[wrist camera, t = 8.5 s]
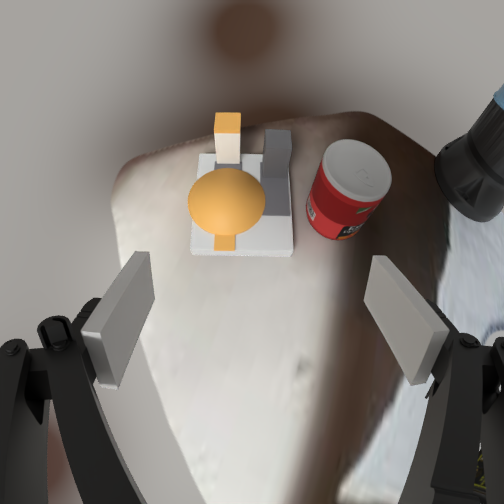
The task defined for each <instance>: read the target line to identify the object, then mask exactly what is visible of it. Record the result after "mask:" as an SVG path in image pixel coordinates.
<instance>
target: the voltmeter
mask: <svg viewBox="0 0 504 504" xmlns="http://www.w3.org/2000/svg"><path fill="white" fill-rule="evenodd" d="M473 495H474V496H477V497H479V499H480V504H487V501H486V486H485V474H484V465H483V457H482V449H481V450H480V451H479V455H478V463H477V470H476V476H475V482H474V488H473Z"/></svg>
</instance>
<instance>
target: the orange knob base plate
mask: <svg viewBox="0 0 504 504" xmlns="http://www.w3.org/2000/svg"><path fill="white" fill-rule="evenodd" d="M291 152H292V141H291V130H275V129H265V138H264V148H263V154H240V164H217V159H216V154H200V156H199V164H198V173H197V181H196V182H195V183H194V185H193V186H192V188H191V190H190V193H189V196H188V209H189V212H190V215H191V217H192V219H193V221H192V232H191V244H190V250H191V253H192V255H223V256H283V257H291V255H292V253H293V232H292V214H291V197H290V182H289V168H288V166H289V161H290V157H291Z"/></svg>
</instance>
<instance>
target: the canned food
mask: <svg viewBox="0 0 504 504" xmlns="http://www.w3.org/2000/svg"><path fill="white" fill-rule="evenodd" d="M391 182H392V175H391V171H390V168H389V166H388V164H387V162H386V161H385V159H384V158H383V157H382V156H381V154H380V153H378V152H377V151H376V150H375V149H374V148H372V147H371V146H369V145H367V144H365V143H363V142H360V141H357V140H351V139H344V140H339V141H336V142H334V143H332V144H331V145H330V146H329V147H328V148H327V149H326V151H325V153H324V155H323V158H322V160H321V163H320V166H319V168H318V171H317V174H316V177H315V180H314V183H313V185H312V188H311V191H310V194H309V197H308V199H307V203H306V212H307V217H308V220H309V222H310V224H311V225H312V227H313V228H314V229H315V230H316V231H317V232H318V233H319V234H321V235H322V236H324V237H326V238H329V239H332V240H343V239H347V238H350V237H352V236H353V235H355V234H356V233H357V232H358V231H359V229H360V228H361V227H362V226H363V224H364V223H365V222H366V220H367V219H368V218H369V217H370V215H371V214H372V213H373V211H374V210H375V209H376V207H377V206H378V205H379V203H380V202H381V201H382V199H383V198H384V196H385V195H386V193H387V192H388V190H389V188H390V186H391Z"/></svg>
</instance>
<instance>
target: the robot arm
mask: <svg viewBox="0 0 504 504" xmlns="http://www.w3.org/2000/svg"><path fill="white" fill-rule="evenodd" d="M493 96H494V98H493V99H492V101H491V102H490V104H489V105H488V106H487V108H486V109H485V110H484V112H483V113H482V114H481V116H480V117H479V118H478V120H477V121H476V122H475V124H474V125H473V126H472V128H471V129H470V130H469V131H468V133H466V134H465V135H463V136H461V137H459V138H457V139H456V140H454V141H452V142H450V143H448V144H447V145H445V146H444V147H443V149H442V150H441V151H440V152H439V154H438V155H437V157H436V159H435V174H436V178H437V180H438V183H439V185H440V187H441V189H442V191H443V193H444V194H445V196H446V197H447V199H448V200H449V201H450V202H451V204H452V205H453V206H454V207H455V208H456V209H457V210H458V211H459V212H461V213H462V214H463V215H465V216H466V217H468V218H470V219H472V220H474V221H478V222H487V221H490V220H491V219H493V218H494V217H495V216H496V215H498V214H499V213H500V212H501V210H502V208H503V206H504V84H503V85H502V87H501V88H500V89H499V90H498V91H497V92H495V93H494V95H493ZM154 300H155V296H154V288H153V280H152V272H151V263H150V254H149V252H139V251H135V252H134V254H133V255H132V256H131V258H130V259H129V260H128V262H127V263H126V265H125V266H124V267H123V269H122V270H121V272H120V273H119V274H118V276H117V277H116V279H115V280H114V281H113V283H112V285H111V286H110V287H109V289H108V290H107V292H106V293H105V294H104V296H103V298H93V299H91V300H90V301H88V302H87V303H86V304H85V305H84V306H83V308H82V309H81V312H79V314H78V315H77V318H75V319H74V321H73V322H72V323H71V322H70V321H69V319H68V318H66V317H65V316H59V315H58V316H52V317H49V318H46V319H45V320H43V321H42V322H41V323H40V324H39V325H38V328H37V332H38V335H39V337H40V340H41V343H42V345H43V347H44V348H37V349H29V348H28V346H27V344H26V342H25V341H24V340H22V339H12V340H9V341H7V342H5V343H4V344H3V345H2V346H1V348H0V504H48V490H47V438H48V420H49V407H50V400H51V399H52V400H53V404H54V409H55V413H56V418H57V421H58V426H59V430H60V434H61V437H62V441H63V445H64V448H65V452H66V455H67V458H68V461H69V465H70V468H71V471H72V474H73V477H74V480H75V483H76V485H77V488H78V491H79V493H80V496H81V499H82V501H83V504H147V503H146V501H145V499H144V497H143V495H142V494H141V492H140V490H139V488H138V486H137V484H136V483H135V481H134V479H133V477H132V475H131V473H130V471H129V469H128V467H127V465H126V463H125V461H124V459H123V457H122V454H121V452H120V450H119V448H118V446H117V443H116V441H115V439H114V437H113V434H112V432H111V430H110V427H109V425H108V422H107V420H106V417H105V415H104V413H103V410H102V407H101V405H100V402H99V399H98V397H97V394H96V391H95V389H94V386H93V383H94V381H95V379H96V377H97V379H98V382H99V384H100V387H104V388H111V389H118V388H119V386H120V383H121V380H122V378H123V375H124V373H125V370H126V367H127V365H128V363H129V360H130V357H131V355H132V352H133V350H134V347H135V345H136V343H137V340H138V338H139V335H140V333H141V330H142V328H143V326H144V323H145V321H146V319H147V316H148V314H149V312H150V309H151V307H152V305H153V302H154ZM364 302H365V304H366V306H367V307H368V309H369V311H370V313H371V314H372V316H373V318H374V319H375V321H376V323H377V325H378V326H379V328H380V330H381V332H382V334H383V335H384V337H385V339H386V341H387V343H388V344H389V346H390V348H391V350H392V352H393V353H394V355H395V357H396V359H397V361H398V363H399V365H400V366H401V368H402V370H403V372H404V374H405V376H406V378H407V380H408V382H409V384H410V386H412V385H418V384H423V383H426V381H427V379H428V377H429V375H430V373H432V375H433V376H434V378H435V379H434V381H433V383H432V385H431V387H430V389H429V391H428V393H427V395H426V397H425V398H426V399H427V398H428V396H429V400H428V405H427V409H426V414H425V418H424V422H423V426H422V430H421V434H420V438H419V441H418V445H417V449H416V452H415V455H414V459H413V462H412V465H411V468H410V471H409V474H408V477H407V480H406V483H405V486H404V489H403V492H402V494H401V497H400V500H399V502H398V504H480V499H479V497H477V496H474V495H473V488H474V482H475V476H476V470H477V463H478V455H479V446H480V443H481V449H482V457H483V465H484V474H485V486H486V501H487V504H504V337H498V338H496V340H495V342H494V344H493V346H492V347H491V346H482V345H481V344H480V342H479V341H478V339H477V338H475V337H474V336H472V335H470V334H467V333H459V331H458V330H457V329H456V328H455V326H454V325H453V324H452V323H451V322H450V320H449V319H448V318H446V316H445V314H444V313H442V311H441V310H440V309H439V307H438V306H437V305H436V304H434V303H433V302H431V301H430V300H428V299H427V300H425V299H424V298H423V297H422V296H421V295H420V294H419V292H418V291H417V290H416V289H415V288H414V287H413V285H412V284H411V283H410V282H409V281H408V280H407V279H406V277H405V276H404V275H403V274H402V273H401V272H400V271H399V270H398V268H397V267H396V266H395V265H394V264H393V263H392V262H391V261H390V260H389V259H388V257H387V256H373V259H372V264H371V269H370V274H369V279H368V284H367V288H366V293H365V297H364ZM500 385H501V392H500V391H499V386H500Z"/></svg>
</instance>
